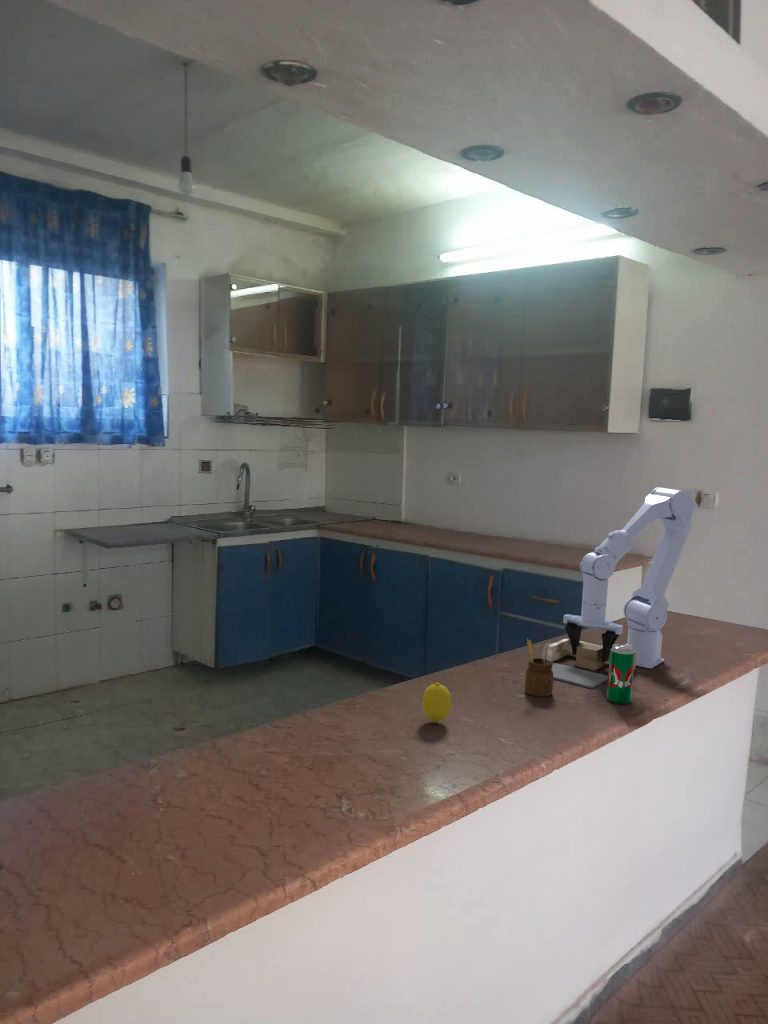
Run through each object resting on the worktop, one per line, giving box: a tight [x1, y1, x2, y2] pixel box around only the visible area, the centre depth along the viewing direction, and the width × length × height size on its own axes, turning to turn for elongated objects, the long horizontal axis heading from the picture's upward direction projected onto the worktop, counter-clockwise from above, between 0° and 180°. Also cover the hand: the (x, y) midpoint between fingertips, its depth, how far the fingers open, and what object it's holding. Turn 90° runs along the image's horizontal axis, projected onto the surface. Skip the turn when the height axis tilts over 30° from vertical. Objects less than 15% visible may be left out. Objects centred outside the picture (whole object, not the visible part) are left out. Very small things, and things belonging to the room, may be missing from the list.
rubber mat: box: [552, 662, 608, 690], centre depth 182 cm, size 10×15×1 cm, turn 51°
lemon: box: [421, 682, 452, 724], centre depth 149 cm, size 6×6×8 cm
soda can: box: [606, 643, 635, 705], centre depth 165 cm, size 5×5×12 cm
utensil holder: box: [524, 638, 554, 698], centre depth 169 cm, size 6×6×12 cm
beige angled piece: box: [546, 637, 637, 671], centre depth 190 cm, size 10×18×4 cm, turn 51°
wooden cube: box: [575, 642, 605, 671], centre depth 189 cm, size 5×5×5 cm
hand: (590, 657), depth 189 cm, fingers open, 7 cm apart
